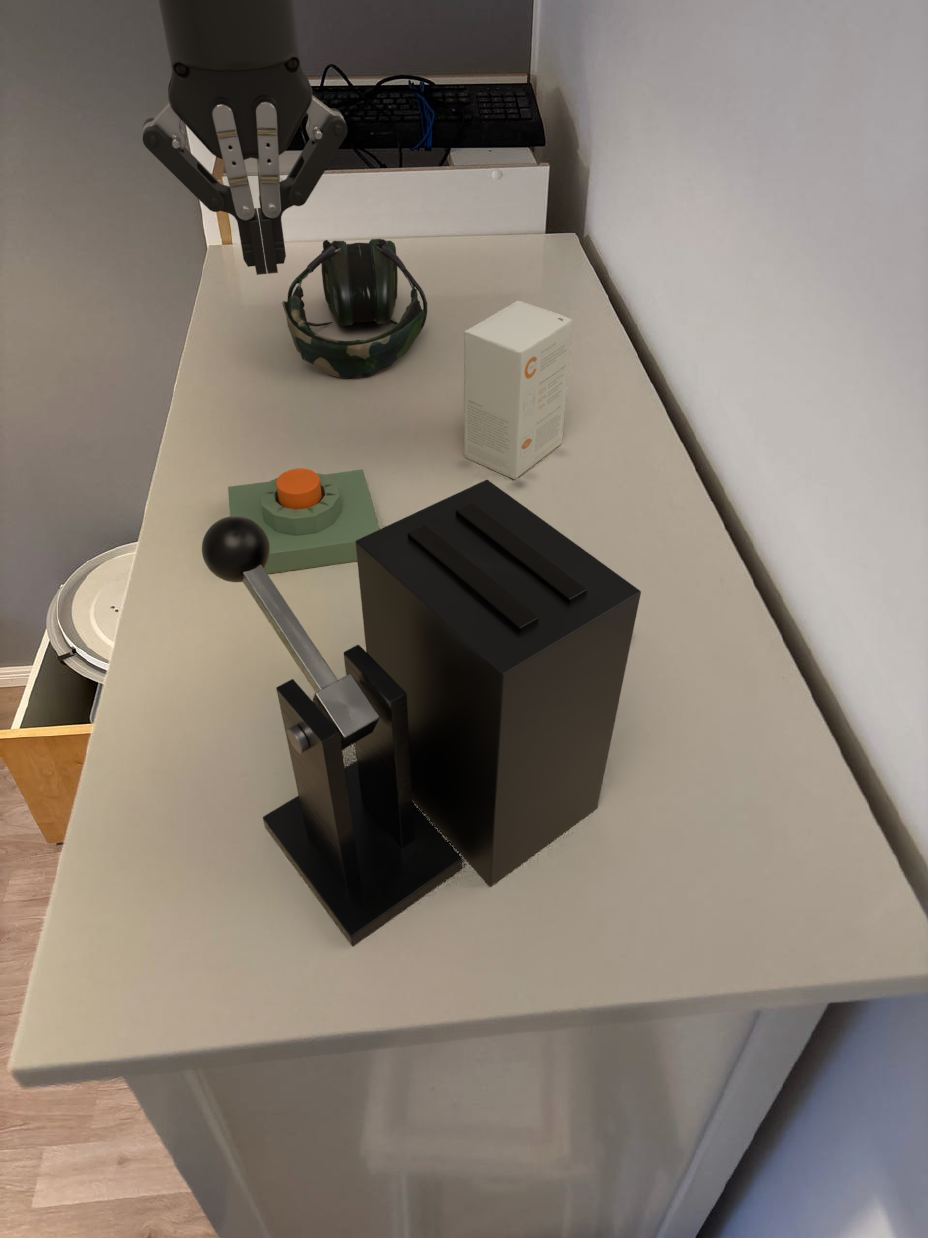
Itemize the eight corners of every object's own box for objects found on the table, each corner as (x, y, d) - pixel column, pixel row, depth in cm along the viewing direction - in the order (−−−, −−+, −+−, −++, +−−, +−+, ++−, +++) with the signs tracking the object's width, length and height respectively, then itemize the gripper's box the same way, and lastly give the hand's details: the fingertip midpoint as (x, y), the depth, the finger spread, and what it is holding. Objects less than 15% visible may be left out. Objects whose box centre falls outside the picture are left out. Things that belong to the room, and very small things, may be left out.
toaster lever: (189, 553, 50) (188, 519, 47) (247, 528, 51) (250, 493, 48) (324, 763, 46) (333, 741, 43) (381, 730, 48) (394, 706, 45)
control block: (238, 578, 73) (229, 540, 70) (232, 506, 80) (224, 469, 77) (383, 557, 75) (380, 520, 72) (364, 488, 82) (361, 452, 79)
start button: (280, 513, 73) (277, 496, 72) (276, 487, 76) (274, 470, 74) (324, 507, 74) (322, 490, 72) (319, 482, 76) (317, 465, 75)
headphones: (268, 258, 104) (272, 364, 92) (343, 175, 98) (357, 277, 86) (353, 323, 113) (367, 428, 101) (427, 251, 107) (451, 353, 95)
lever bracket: (264, 827, 56) (222, 668, 46) (370, 763, 60) (353, 602, 49) (352, 947, 50) (326, 797, 40) (463, 869, 54) (465, 712, 44)
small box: (511, 422, 90) (517, 297, 81) (563, 444, 87) (576, 318, 78) (461, 457, 85) (462, 329, 76) (514, 481, 83) (521, 352, 74)
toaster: (376, 759, 60) (354, 535, 46) (479, 696, 64) (487, 473, 50) (490, 887, 53) (503, 669, 40) (597, 808, 57) (643, 585, 44)
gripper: (91, -26, 45) (167, 302, 57) (349, -34, 48) (370, 283, 60) (99, -50, 50) (167, 256, 63) (331, -56, 53) (354, 240, 65)
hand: (266, 269), depth 61 cm, fingers closed
